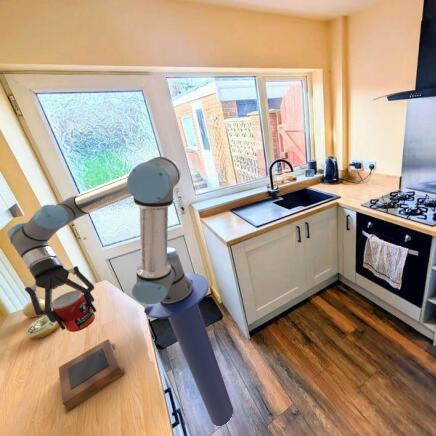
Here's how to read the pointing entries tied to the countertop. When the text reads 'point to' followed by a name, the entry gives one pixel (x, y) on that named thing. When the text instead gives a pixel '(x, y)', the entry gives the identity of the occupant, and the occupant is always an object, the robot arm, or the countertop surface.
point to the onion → (30, 310)
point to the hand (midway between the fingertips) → (79, 319)
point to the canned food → (73, 311)
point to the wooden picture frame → (88, 374)
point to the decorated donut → (41, 328)
